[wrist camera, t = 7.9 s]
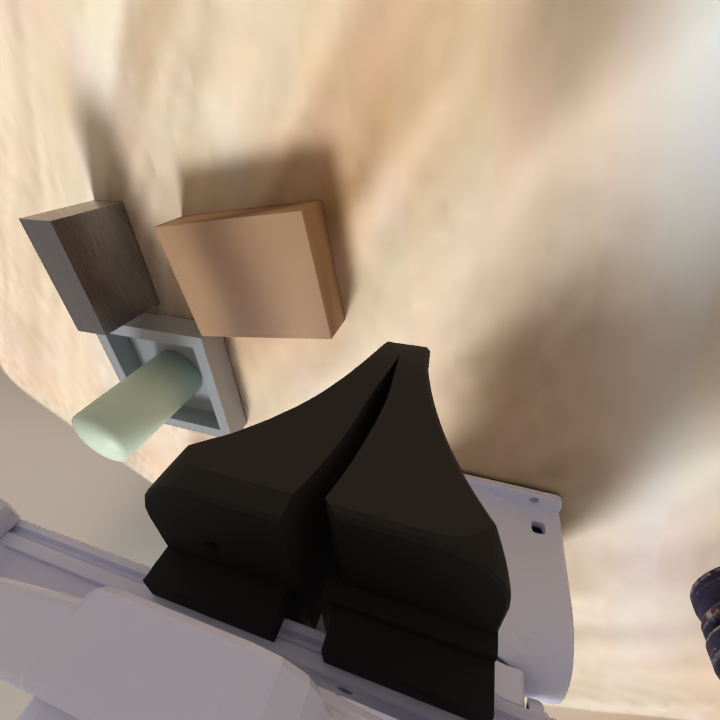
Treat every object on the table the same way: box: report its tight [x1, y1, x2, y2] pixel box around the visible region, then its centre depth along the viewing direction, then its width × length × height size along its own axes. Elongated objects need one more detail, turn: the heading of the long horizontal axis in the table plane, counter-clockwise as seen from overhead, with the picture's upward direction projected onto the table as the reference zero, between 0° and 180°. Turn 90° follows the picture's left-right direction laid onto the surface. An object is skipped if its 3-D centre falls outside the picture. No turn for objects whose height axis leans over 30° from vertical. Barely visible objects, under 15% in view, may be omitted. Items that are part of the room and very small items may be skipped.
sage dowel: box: [72, 350, 202, 461], centre depth 23 cm, size 4×4×6 cm
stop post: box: [19, 200, 159, 335], centre depth 20 cm, size 2×6×4 cm, turn 2°
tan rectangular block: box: [153, 200, 345, 339], centre depth 19 cm, size 8×6×2 cm
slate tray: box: [97, 312, 247, 437], centre depth 25 cm, size 8×8×2 cm
